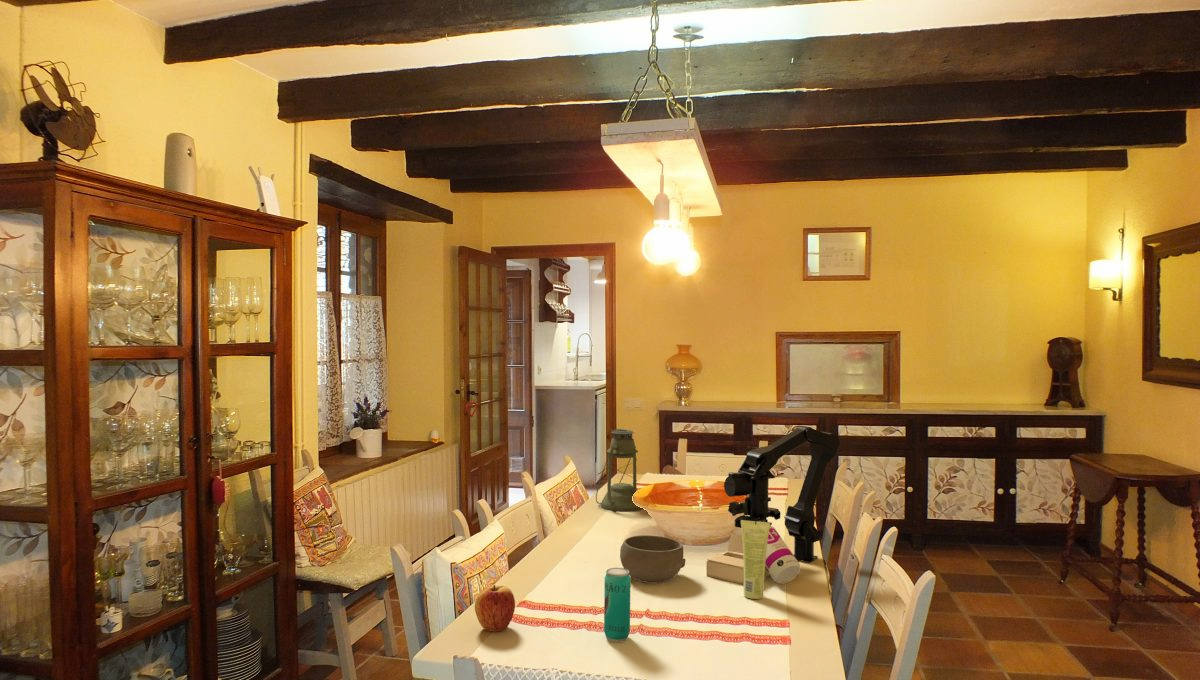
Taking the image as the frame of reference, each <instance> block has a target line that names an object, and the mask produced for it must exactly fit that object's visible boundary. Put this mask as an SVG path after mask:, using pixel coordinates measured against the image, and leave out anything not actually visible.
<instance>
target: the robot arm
mask: <svg viewBox="0 0 1200 680" xmlns="http://www.w3.org/2000/svg"><path fill="white" fill-rule="evenodd" d="M805 443H809V453H810V461H809V464H808V468H807V471H806V474H805V477H804V480H803V484H802V487H801V489H800V492H799V495H798V498H797V501H796V503H795V504H794V505H793V506H791V505H788V506H787V508H786V514H785V515H784V516H783V519H784V526H785V528H786V530H787V531H788V536H790V537H793V539H794V540H793V541H794V542H793V543H794V545H793V546H794V547H793V548H794V549H793V555H794V557H795V558H796V560H797V561H801V562H806V563H812V562H813V561H816V560H817V559H818V558H819V557H818V555H814V553H815V552H814V551H815V543H816V542H819V541H820V540H821V536H822V533H821V532H820V531H819V530H818V529H817V528H816V526H815V521H816V516H815V511H814V508H815V504H816V501H817V499H818V494H819V491H820V487H821V485H822V482H823V479H824V476H825V472H826V470H827V467H828V464H829V462H830V461H831V460H833V459H834V458H835V457H836V455H837V454H838V450H839V448H840V447H841V440H840V438H839V436H838V435H837V434H835V433H833V432H832V433H831V432H827V431H826V432H825V431H821V430H820V431H819V430H817V429H815V428H813V427H811V426H807V425H806V426H805V425H799V426H797V427H796V429H794V430H792V431H791V432H789V433H788V434H786V435H783V436H782V437H780V438H778V439H777V440H775V441H774V442H772V443H771V444H768V445H765V446H759V447H756V448H754V449H751V450H750V451H748V452H747V453H746V457H745V459H744V460H743V462H742V464H741V466H740V467H739V468H738V471H737V472H728V475H727V477H726V478H725V481H724V482H723V489H724V493H725V494H726V495H727V497H730V498H731V497H742V496H746V497H745V499H744V501H740V502H738V501H737V500H735V501H731V502H729V504H728V509H727V511H728V512H729V513H730V514H731V516H732V517H736V516H737V515H738V516H737V517H736V518H735V519H734V527H735V528H739V529H742V528H741V520H745V521H755V522H767V523H770V526H772V525H773V522H770V521H768V519H767V518H769V517H770V518H774V520H775V521H777V520H779V519H781V511H780V510H779V509H778V508H777V507H776V508H775V507H770V506H769V502H771V501H772V497H769V485H770V484H769V482H770V481H769V480H770V479H775V478H776V476H775V475H774V474H773V473H772V472H771V470H772V469H773V468H774V467H775V466H776V465H777V464H778V462H779V461H778V460H780V459H781V458H783V456H785V455H787V454H789V453H790V452H792V451H793V450H795V449H796V448H799V447H800V446H801V445H803V444H805ZM741 514H743V515H741ZM739 515H740V516H739Z"/></svg>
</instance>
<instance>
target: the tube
mask: <svg viewBox="0 0 1200 680" xmlns="http://www.w3.org/2000/svg"><path fill="white" fill-rule="evenodd" d="M740 529H741V535H742V539H743V559H744V584H743V595H744V597H745V598H748V599H752V600H758V599H759V600H761V599H763V598H764V590H765V589H764V587H765V586H764V585H765V579H764V575H765V562H766V551H767V542H768V535H769V529H770V523H767V522H755V521H745V520H741V528H740Z"/></svg>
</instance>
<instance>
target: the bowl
mask: <svg viewBox="0 0 1200 680" xmlns="http://www.w3.org/2000/svg"><path fill="white" fill-rule="evenodd" d="M684 553H685V552H684V546H683V543H682V542H680V540H677V539H674V538H671V537H667V536H662V535H661V536H660V535H652V534H651V535H649V534H648V535H647V534H644V535H643V534H642V535H641V534H640V535H634V536H633V535H632V536H629V537H627V538H625V539H624V540H623V542H622V544H621V546H620V550H619V558H620V563H621V565H622V568H624V569H627V570H629V576H630V578H632V579H635V580H637V581H640V582H644V583H649V584H650V583H651V584H656V583H664V582H667V581H670V580H672V579H674V578H675V577H676V576H677V575H678V573H680V570H681V569H682V568H684V567H685V565H686V558H684Z"/></svg>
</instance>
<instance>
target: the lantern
mask: <svg viewBox="0 0 1200 680" xmlns="http://www.w3.org/2000/svg"><path fill="white" fill-rule="evenodd" d="M610 431H611V432H610V433H611V434H612V438H611V440H610V446H609V448H608V449H607V450H606V453H608V456H607V458H606V461H605V464H604V466H603V470H602V473H601V476H600V479H599V481H598V486H597V490H596V494H595V502H596V504H598V505H600V508H601V509H603V510H606V511H610V512H621V513H623V512H626V513H627V512H636V511H640V510H642V509H641V508H640V507H638V506H636V505H635V504H634V503H633V501H632V496H633V494H634V493H635V492H636V491H638V486H637V461H638V459H637V454H638V453H639V451H638V450H637V448H636V447H637V446H636V444H635V439H634V438H633V434H635V431H633V430H630V429H624V428H614V429H610ZM613 458H614V459H628V463H627V465H624V466H622V467H621V469H622V468H625V470H624V472H623V471H621V470H620V469H617V468H616V467H614V466H613V465H612V462H613ZM631 459H632V463H630V461H631ZM631 464H632V476H631V475H629V474H627V473H626V471H627V469H628V467H629V466H630V465H631ZM606 467H607V484H606V485H607V490H606V493H605V495H604V497H603V498H602V499H601V502H599V501H598V491H599V487H600V485H601V481H602V477H603V475H604V472H605V468H606ZM612 469H615V470H614V471H613V472H612ZM617 471H618V472H620V473H622V476H621V479H620V480H619V482H618V483H614V484H612V474H614V473H615V472H617ZM625 475H626V476H629V477H630V478H632V482H631V483H626V482H625V483H624V482H622V480H623V478H624V476H625Z"/></svg>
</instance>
